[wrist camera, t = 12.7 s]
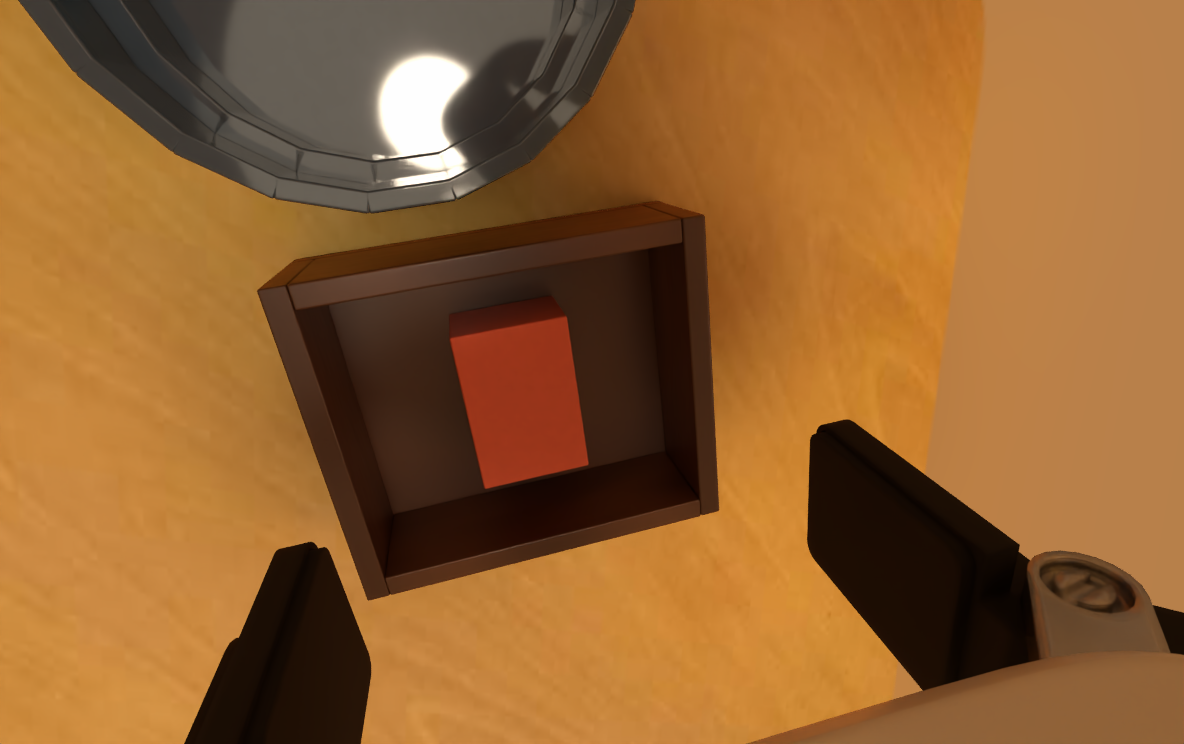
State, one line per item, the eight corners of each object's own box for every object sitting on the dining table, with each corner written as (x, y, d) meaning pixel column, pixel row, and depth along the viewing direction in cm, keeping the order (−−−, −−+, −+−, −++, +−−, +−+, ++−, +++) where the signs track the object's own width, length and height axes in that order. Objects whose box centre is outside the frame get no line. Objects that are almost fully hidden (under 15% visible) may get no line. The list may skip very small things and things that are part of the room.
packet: (552, 294, 23) (567, 315, 20) (573, 430, 25) (589, 465, 23) (448, 313, 22) (448, 338, 20) (480, 451, 25) (484, 490, 22)
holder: (658, 200, 23) (705, 214, 19) (678, 455, 28) (720, 511, 23) (293, 259, 21) (255, 290, 17) (380, 525, 25) (367, 601, 21)
